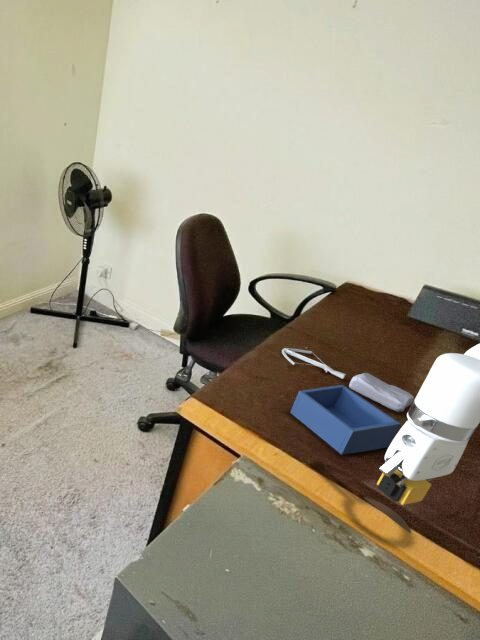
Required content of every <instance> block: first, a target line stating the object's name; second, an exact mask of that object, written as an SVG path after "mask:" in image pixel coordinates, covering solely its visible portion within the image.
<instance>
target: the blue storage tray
mask: <svg viewBox="0 0 480 640" xmlns="http://www.w3.org/2000/svg"><path fill="white" fill-rule="evenodd" d="M289 413H290V414H291V415H292V416H293V417H295V418H296V419H297V420H298V421H300V422H301V423H302V424H304V425H305V426H306V427H307V428H308V429H310V431H312V432H313V433H314V434H315V435H317V436H318V437H319V438H320V439H322V440H323V441H324V442H325V443H327V444H328V445H329V446H330V447H331V448H332V449H334V450H335V451H336V452H338V453H339V454H340V455H349V454H356V453H364V452H369V451H375V450H381V449H385V448H387V449H388V448H389V446H390V444H391V442H392V441H393V439H394V438H395V436H396V435H397V433H398V431H399V428H400V427H401V425H402V423H401V422H399V421H398V420H396V419H395V418H393V417H392V416H390V415H389V414H387V413H385V412H384V411H383V410H381V409H380V408H378V407H377V406H375V405H374V404H372V403H370V401H368V400H366V399H365V398H363V397H362V396H360V395H359V394H358V393H357V392H355V391H354V390H352V389H351V388H348V387H347V386H345V385H343V384H338V385H331V386H324V387H317V388H310V389H309V388H308V389H303V390H299V391H298V393H297V395H296V397H295V400H294V402H293V404H292V406H291V409H290V411H289Z"/></svg>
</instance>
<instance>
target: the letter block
mask: <svg viewBox="0 0 480 640" xmlns="http://www.w3.org/2000/svg"><path fill="white" fill-rule="evenodd" d="M401 466H402V465H401ZM394 473H395V474H397V475H398V476H399V477H400V478H401V477H402V475H403V474H402V473H401V472H400V471H398V470H397V469H396V470H395V471H394ZM383 476H384V474H383V472H381V475H380V477H379V479H378V480H377V482H376V485H377V486H378V485H379V483H380V481H381V479H382V478H383ZM429 482H430V481H428V480H427V481H426V480H420V481H412V480H408V481H407V482H406V484H405V485H404V486H405V487H406V489H405V491H404V492H403V494H402V496H401V498H400V499H399V501H397V502H398V503H399V504H400V505H401V506H405V505H410V504H414V503H419V502H422V501H423V500H424V499H425V496H426V495H427V493H428V492H429V490H430V489H431V487H432V483H431V482H430V483H429Z"/></svg>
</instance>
